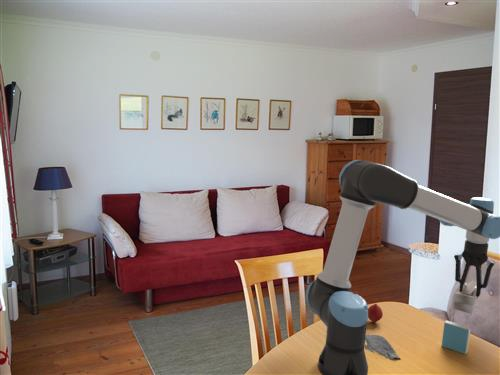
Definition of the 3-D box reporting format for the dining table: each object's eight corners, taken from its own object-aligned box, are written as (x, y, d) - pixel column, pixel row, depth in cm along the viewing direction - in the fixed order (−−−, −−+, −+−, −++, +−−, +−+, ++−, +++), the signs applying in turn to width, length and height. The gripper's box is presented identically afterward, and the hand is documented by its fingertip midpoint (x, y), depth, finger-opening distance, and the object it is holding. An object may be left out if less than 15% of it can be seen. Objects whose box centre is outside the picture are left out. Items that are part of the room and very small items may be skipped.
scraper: (453, 308, 159) (455, 292, 158) (465, 293, 173) (467, 279, 172) (471, 313, 155) (473, 297, 154) (482, 298, 169) (484, 283, 168)
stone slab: (352, 331, 162) (378, 328, 164) (352, 335, 163) (377, 333, 164) (373, 359, 145) (402, 356, 146) (373, 364, 145) (402, 361, 147)
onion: (363, 319, 174) (365, 300, 172) (375, 318, 175) (377, 299, 174) (371, 326, 168) (373, 306, 167) (384, 325, 170) (386, 305, 169)
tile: (441, 346, 156) (444, 322, 155) (442, 343, 158) (446, 320, 157) (465, 354, 152) (469, 330, 150) (467, 352, 153) (470, 327, 152)
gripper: (504, 243, 158) (494, 305, 162) (455, 234, 168) (448, 293, 172) (500, 248, 152) (490, 312, 156) (450, 238, 162) (442, 299, 166)
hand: (468, 302), depth 164 cm, fingers closed on scraper, 3 cm apart
